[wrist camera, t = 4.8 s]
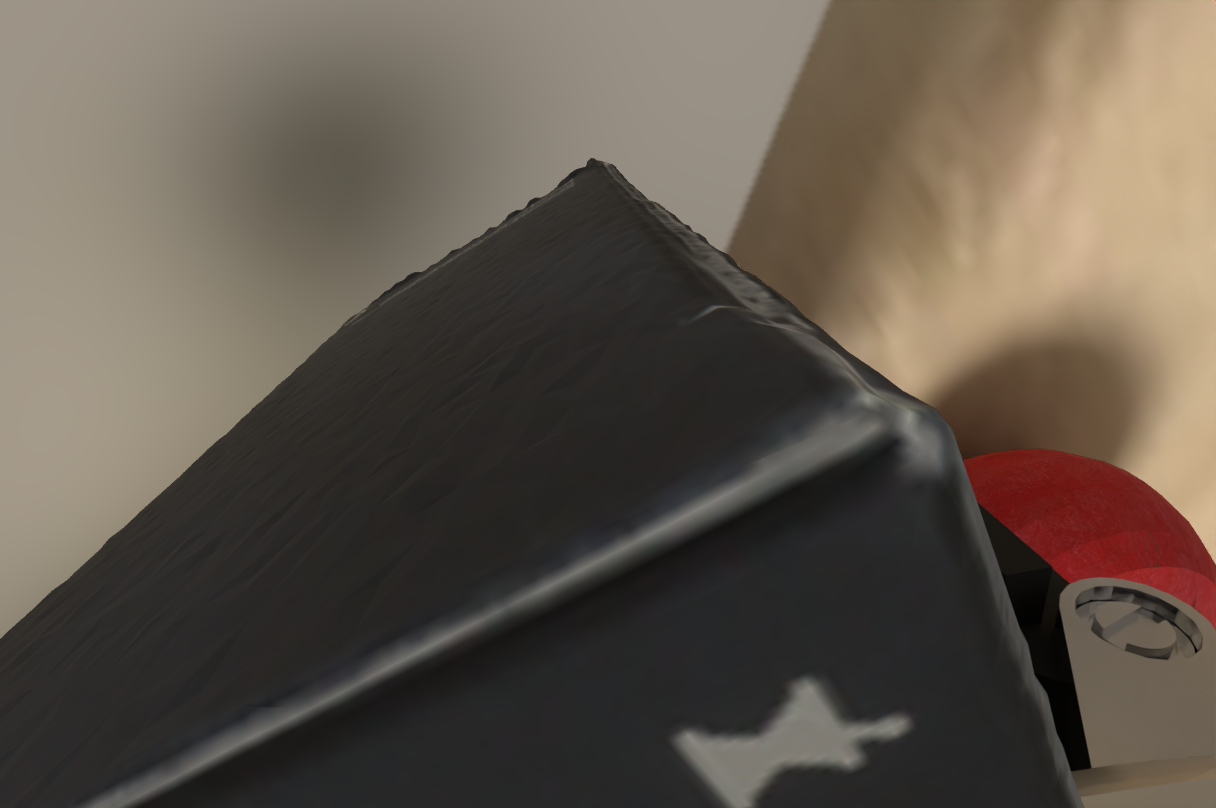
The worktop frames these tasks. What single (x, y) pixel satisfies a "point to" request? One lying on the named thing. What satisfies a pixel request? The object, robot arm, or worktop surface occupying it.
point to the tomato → (1095, 522)
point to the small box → (549, 566)
